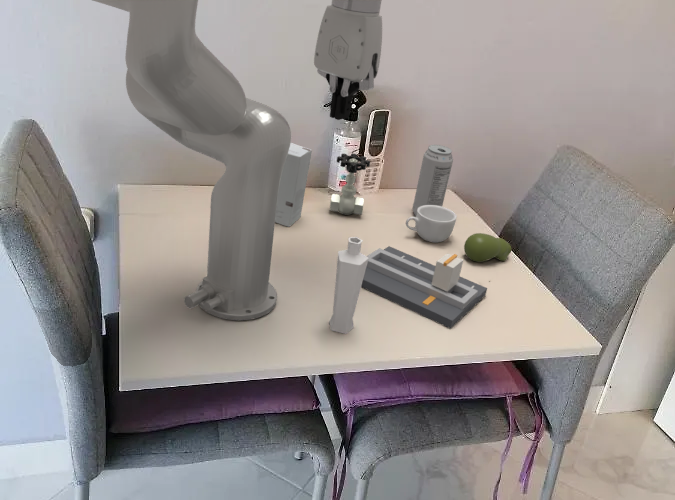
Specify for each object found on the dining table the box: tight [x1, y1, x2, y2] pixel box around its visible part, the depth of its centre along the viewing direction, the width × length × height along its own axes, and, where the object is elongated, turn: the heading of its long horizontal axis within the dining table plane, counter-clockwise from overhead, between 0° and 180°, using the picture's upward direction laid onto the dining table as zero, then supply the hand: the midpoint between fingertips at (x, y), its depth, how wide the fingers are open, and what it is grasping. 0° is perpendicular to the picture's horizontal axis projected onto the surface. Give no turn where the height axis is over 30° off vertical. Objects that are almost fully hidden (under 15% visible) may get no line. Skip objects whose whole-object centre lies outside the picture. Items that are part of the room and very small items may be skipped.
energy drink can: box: [412, 144, 454, 217], centre depth 142 cm, size 6×6×15 cm
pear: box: [463, 232, 512, 263], centre depth 131 cm, size 6×5×10 cm
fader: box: [431, 252, 464, 293], centre depth 114 cm, size 4×3×6 cm
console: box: [361, 245, 488, 329], centre depth 118 cm, size 14×20×3 cm
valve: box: [329, 153, 371, 216], centre depth 138 cm, size 7×7×12 cm
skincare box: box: [275, 142, 313, 227], centre depth 132 cm, size 8×6×15 cm
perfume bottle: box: [329, 236, 369, 335], centre depth 102 cm, size 5×4×15 cm
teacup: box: [405, 205, 458, 243], centre depth 135 cm, size 10×8×5 cm
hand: (339, 117), depth 114 cm, fingers closed
